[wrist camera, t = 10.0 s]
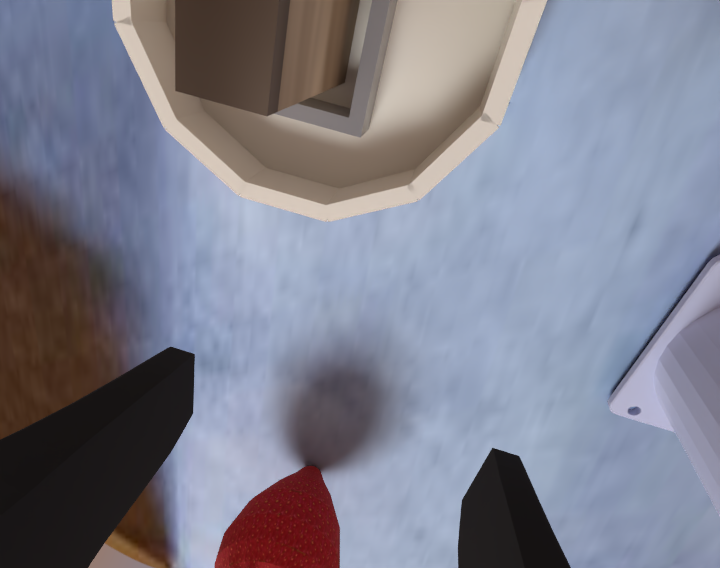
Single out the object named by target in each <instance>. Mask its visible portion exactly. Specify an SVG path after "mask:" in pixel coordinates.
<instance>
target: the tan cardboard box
mask: <svg viewBox="0 0 720 568" xmlns="http://www.w3.org/2000/svg"><path fill="white" fill-rule="evenodd" d="M359 3H360V0H175V91H177V92H181V93H184V94H188V95H192V96H195V97H199V98H202V99H206V100H210V101H213V102H217V103H220V104H224V105H228V106H231V107H235V108H238V109H242V110H246V111H249V112H253V113H256V114H260V115H264V116H269V115H272V114H274V113H276V112H279V111H281V110H283V109H285V108H288V107H290V106H292V105H295V104H297V103H299V102H301V101H304V100H306V99H308V98H311V97H313V96H315V95H318V94H320V93H322V92H324V91H327V90H329V89H331V88H334V87H336V86H338V85H341V84H343V83H345V79H346V74H347V68H348V63H349V57H350V52H351V46H352V41H353V36H354V30H355V25H356V19H357V14H358V9H359Z"/></svg>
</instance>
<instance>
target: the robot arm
mask: <svg viewBox="0 0 720 568" xmlns="http://www.w3.org/2000/svg"><path fill="white" fill-rule="evenodd" d="M194 361H195V354H193V353H189V352H186V351H183V350H180V349H177V348H173V347H169V348H167V349H165V350H164V351H162V352H160V353H158V354H157V355H155V356H153V357H152V358H150V359H148V360H147V361H145V362H143V363H142V364H140V365H138V366H136V367H135V368H133V369H131V370H130V371H128V372H126V373H125V374H123V375H121V376H120V377H118V378H116V379H114V380H113V381H111V382H109V383H108V384H106V385H104V386H102V387H100V388H99V389H97V390H95V391H93V392H92V393H90V394H88V395H86V396H85V397H83V398H81V399H79V400H77V401H76V402H74V403H72V404H70V405H68V406H66V407H64V408H63V409H61V410H59V411H57V412H55V413H53V414H51V415H49V416H47V417H45V418H43V419H41V420H39V421H37V422H35V423H33V424H32V425H30V426H28V427H26V428H24V429H22V430H20V431H17V432H15V433H13V434H11V435H9V436H7V437H5V438H3V439H1V440H0V568H88V567H89V565H90V563H91V562H92V560H93V559H94V558H95V556H96V555H97V553H98V552H99V550H100V549H101V547H102V546H103V544H104V543H105V541H106V540H107V539H108V537H109V536H110V535H111V533H112V532H113V531H114V529H115V528H116V526H117V525H118V524H119V522H120V521H121V520H122V518H123V517H124V516H125V514H126V513H127V512H128V510H129V509H130V507H131V506H132V505H133V503H134V502H135V501H136V499H137V498H138V497H139V495H140V494H141V493H142V491H143V490H144V488H145V487H146V486H147V484H148V483H149V482H150V480H151V479H152V478H153V476H154V475H155V473H156V472H157V471H158V469H159V468H160V467H161V465H162V464H163V462H164V461H165V460H166V458H167V457H168V455H169V454H170V453H171V451H172V449H173V448H174V446H175V444H176V442H177V441H178V439H179V437H180V436H181V434H182V432H183V430H184V429H185V427H186V425H187V423H188V421H189V420H190V418H191V416H192V414H193V397H194ZM608 406H609V408H610V410H611V411H612V413H614V414H617V415H620V416H623V417H626V418H630V419H633V420H636V421H640V422H643V423H646V424H649V425H653V426H656V427H659V428H662V429H666V430H669V431H672V432H675V433H676V435H677V437H678V439H679V441H680V443H681V444H682V446H683V448H684V450H685V452H686V454H687V456H688V458H689V460H690V461H691V463H692V465H693V467H694V469H695V471H696V473H697V475H698V476H699V478H700V480H701V482H702V484H703V486H704V488H705V490H706V492H707V493H708V495H709V497H710V499H711V501H712V503H713V505H714V507H715V508H716V510H717V512H718V514H719V516H720V255H718V256H716V257H714V258H712V259H711V260H710V261H709V262H708V263H707V265H706V266H705V268H704V269H703V270H702V272H701V273H700V274H699V276H698V277H697V279H696V280H695V281H694V283H693V284H692V285H691V287H690V288H689V289H688V291H687V292H686V294H685V295H684V296H683V298H682V299H681V300H680V302H679V303H678V305H677V306H676V307H675V309H674V310H673V311H672V313H671V314H670V315H669V317H668V318H667V320H666V321H665V322H664V324H663V325H662V326H661V328H660V329H659V331H658V332H657V333H656V335H655V336H654V337H653V339H652V340H651V341H650V343H649V344H648V346H647V347H646V348H645V350H644V351H643V352H642V354H641V355H640V357H639V358H638V359H637V361H636V362H635V363H634V365H633V366H632V367H631V369H630V370H629V372H628V373H627V374H626V376H625V377H624V378H623V380H622V381H621V383H620V384H619V385H618V387H617V388H616V389H615V391H614V392H613V393H612V395H611V396H610V398H609V399H608ZM633 406H636V408H633V409H629V408H630V407H633ZM458 568H571V567H570V565H569V563H568V561H567V559H566V557H565V555H564V553H563V551H562V549H561V547H560V545H559V543H558V541H557V539H556V537H555V534H554V532H553V530H552V528H551V526H550V524H549V522H548V519H547V517H546V515H545V513H544V511H543V508H542V506H541V504H540V502H539V500H538V497H537V495H536V493H535V491H534V488H533V486H532V484H531V481H530V479H529V477H528V475H527V472H526V470H525V468H524V466H523V463H522V461H521V459H520V457H519V456H517V455H514V454H510V453H507V452H504V451H501V450H498V449H494V448H492V450H491V451H490V453H489V455H488V456H487V458H486V460H485V462H484V463H483V465H482V467H481V469H480V470H479V472H478V474H477V475H476V477H475V479H474V481H473V482H472V484H471V486H470V487H469V489H468V491H467V493H466V494H465V496H464V498H463V499H462V506H461V517H460V528H459V541H458Z"/></svg>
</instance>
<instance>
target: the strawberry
mask: <svg viewBox="0 0 720 568" xmlns="http://www.w3.org/2000/svg"><path fill="white" fill-rule="evenodd" d="M339 567H340V527H339V524H338V520H337V517H336V513H335V509H334V506H333V502H332V499H331V495H330V493H329V491H328V489H327V487H326V485H325V483H324V480H323V478H322V474H321V472H320V470H319V469H318V468H317V467H315V466H306V467H304V468H302V469H301V470H299V471H298V472H296V473H294V474H292V475H290V476H287V477H285V478H283V479H281V480H279V481H278V482H276V483H275V484H273V485H272V486H270V487H269V488H267V489H266V490H264V491H263V492H261V493H260V494H258V495H257V496H255V497H254V498H253V499H252V500H250V501H249V503H248V504H247V505H246V506H245V508H244V509H243V510H242V511H241V513H240V514H239V515H238V516H237V518H236V519H235V520H234V521H233V522H232V524H231V525H230V526H229V528H228V529H227V530H226V532H225V533H224V536H223V539H222V542H221V545H220V548H219V552H218V555H217V558H216V561H215V568H339Z"/></svg>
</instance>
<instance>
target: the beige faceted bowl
mask: <svg viewBox="0 0 720 568" xmlns="http://www.w3.org/2000/svg"><path fill="white" fill-rule="evenodd" d="M546 2H547V0H360V3H359V9H358V14H357V19H356V25H355V30H354V36H353V41H352V46H351V52H350V57H349V63H348V68H347V74H346V79H345V83H343V84H341V85H338V86H336V87H334V88H331V89H329V90H327V91H324V92H322V93H320V94H318V95H315V96H313V97H311V98H308V99H306V100H304V101H301V102H299V103H297V104H295V105H292V106H290V107H288V108H285V109H283V110H281V111H279V112H276V113H274V114H272V115H269V116H264V115H260V114H256V113H253V112H249V111H246V110H242V109H238V108H235V107H231V106H228V105H224V104H220V103H217V102H213V101H210V100H206V99H202V98H199V97H195V96H192V95H188V94H184V93H181V92H177V91H175V0H112V8H113V21H116V23H114V24H115V26H116V29H117V31H118V33H119V35H120V37H121V39H122V41H123V43H124V45H125V48H126V50H127V52H128V54H129V56H130V58H131V60H132V62H133V64H134V66H135V69H136V71H137V73H138V75H139V77H140V79H141V81H142V83H143V85H144V87H145V90H146V92H147V94H148V96H149V98H150V100H151V102H152V104H153V106H154V108H155V111H156V113H157V115H158V117H159V119H160V121H161V123H162V125H163V127H164V128H165V127H166V129H165V130H166V131H167V132H168V133H169V134H170V135H172V136H173V137H174V138H175V139H176V140H177V141H178V142H179V143H180V144H182V145H183V146H184V147H185V148H186V149H187V150H188V151H189V152H190V153H192V154H193V155H194V156H195V157H196V158H197V159H198V160H199V161H200V162H201V163H203V164H204V165H205V166H206V167H207V168H208V169H209V170H210V171H211V172H213V173H214V174H215V175H216V176H217V177H218V178H219V179H220V180H221V181H223V182H224V183H225V184H226V185H227V186H228V187H229V188H230V189H231V190H233V191H234V192H235V193H236V194H237V195H238V196H239V195H240V197H242V198H246V199H249V200H253V201H256V202H260V203H263V204H267V205H270V206H273V207H277V208H280V209H284V210H287V211H291V212H294V213H298V214H301V215H304V216H308V217H311V218H315V219H318V220H322V221H325V222H327V220H328V222H330V221H334V220H339V219H343V218H347V217H352V216H356V215H360V214H365V213H369V212H373V211H378V210H382V209H386V208H391V207H395V206H399V205H404V204H408V203H413V202H417V201H418V200H420V199H421V198H422V197H424V196H425V195H426V194H427V193H428V192H429V191H430V190H431V189H432V188H433V187H435V186H436V185H437V184H438V183H439V182H440V181H441V180H442V179H443V178H444V177H445V176H447V175H448V174H449V173H450V172H451V171H452V170H453V169H454V168H455V167H456V166H458V165H459V164H460V163H461V162H462V161H463V160H464V159H465V158H466V157H467V156H468V155H470V154H471V153H472V152H473V151H474V150H475V149H476V148H477V147H478V146H479V145H481V144H482V143H483V142H484V141H485V140H486V139H487V138H488V137H489V136H490V135H492V134H493V133H494V132H495V131H496V130H497V129H498V128H499V126H498V125H501V123H502V120H503V117H504V115H505V112H506V109H507V107H508V104H509V101H510V99H511V96H512V93H513V91H514V88H515V85H516V83H517V80H518V77H519V75H520V72H521V69H522V67H523V64H524V61H525V59H526V56H527V53H528V51H529V48H530V45H531V42H532V40H533V37H534V34H535V32H536V29H537V26H538V24H539V21H540V18H541V16H542V13H543V10H544V8H545V5H546Z"/></svg>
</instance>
